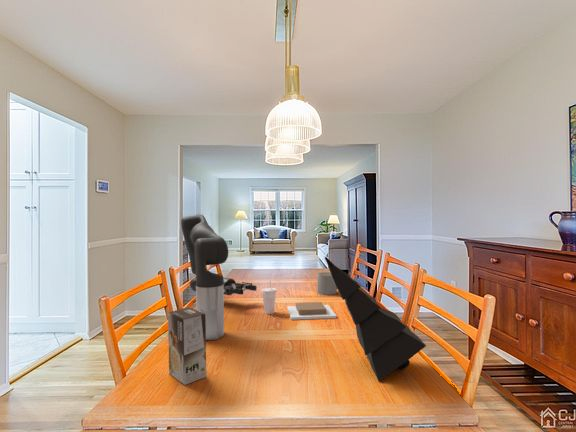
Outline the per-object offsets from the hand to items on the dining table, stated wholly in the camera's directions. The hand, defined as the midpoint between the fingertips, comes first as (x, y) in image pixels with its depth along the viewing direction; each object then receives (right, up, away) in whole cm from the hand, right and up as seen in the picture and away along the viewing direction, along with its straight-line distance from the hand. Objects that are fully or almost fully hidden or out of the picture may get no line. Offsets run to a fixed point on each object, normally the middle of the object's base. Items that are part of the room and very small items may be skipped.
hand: (249, 290), depth 145 cm
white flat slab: (+26, -8, -8) cm, 28 cm away
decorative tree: (+39, -8, -58) cm, 70 cm away
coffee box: (-9, -9, -60) cm, 62 cm away
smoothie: (+9, -8, -6) cm, 14 cm away
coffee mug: (+39, -8, +28) cm, 48 cm away
